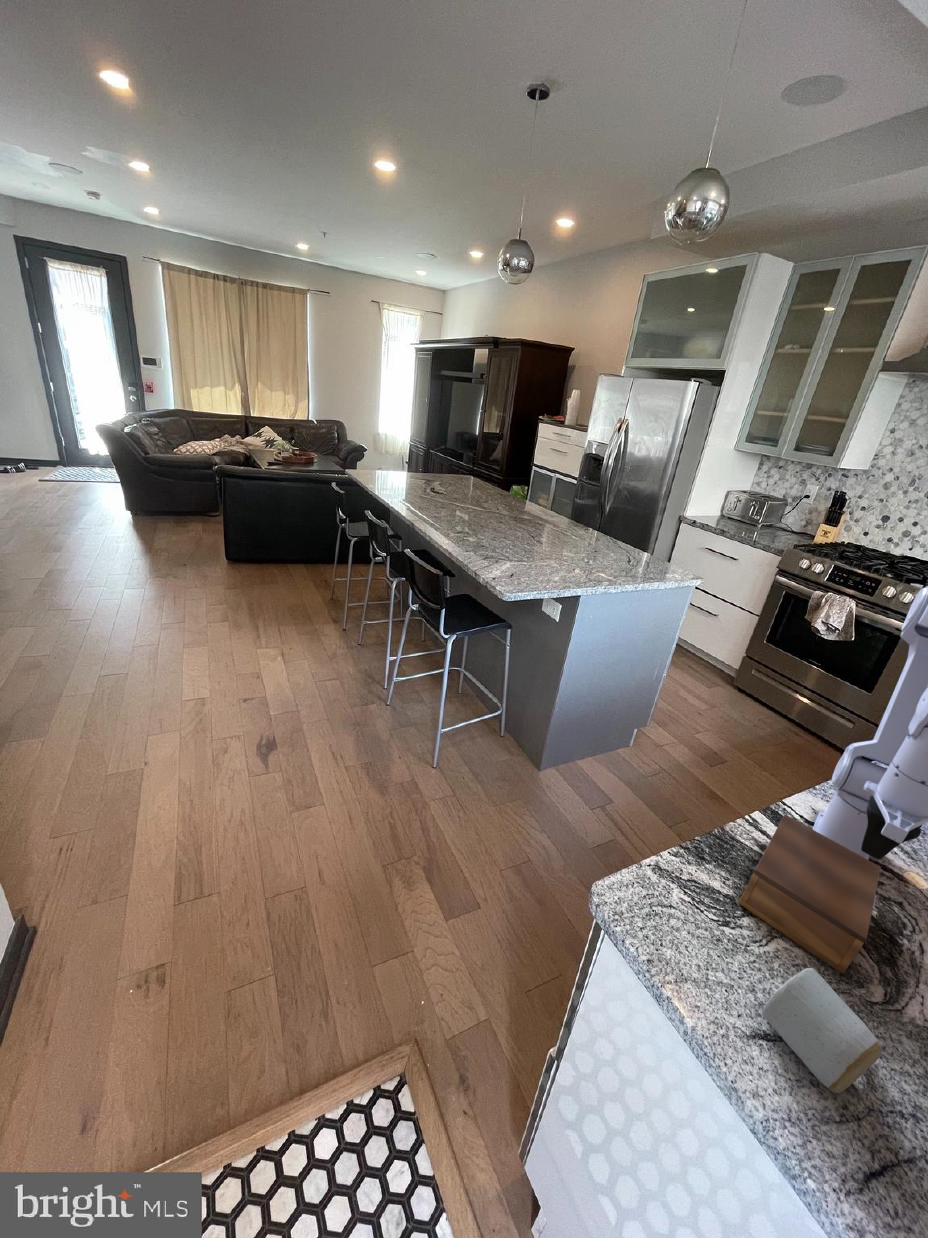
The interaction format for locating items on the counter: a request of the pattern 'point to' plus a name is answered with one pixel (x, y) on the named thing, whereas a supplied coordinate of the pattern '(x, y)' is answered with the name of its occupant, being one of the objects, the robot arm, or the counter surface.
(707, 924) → the counter surface
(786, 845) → the lid
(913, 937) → the counter surface
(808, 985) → the ceramic mug
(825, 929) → the box
